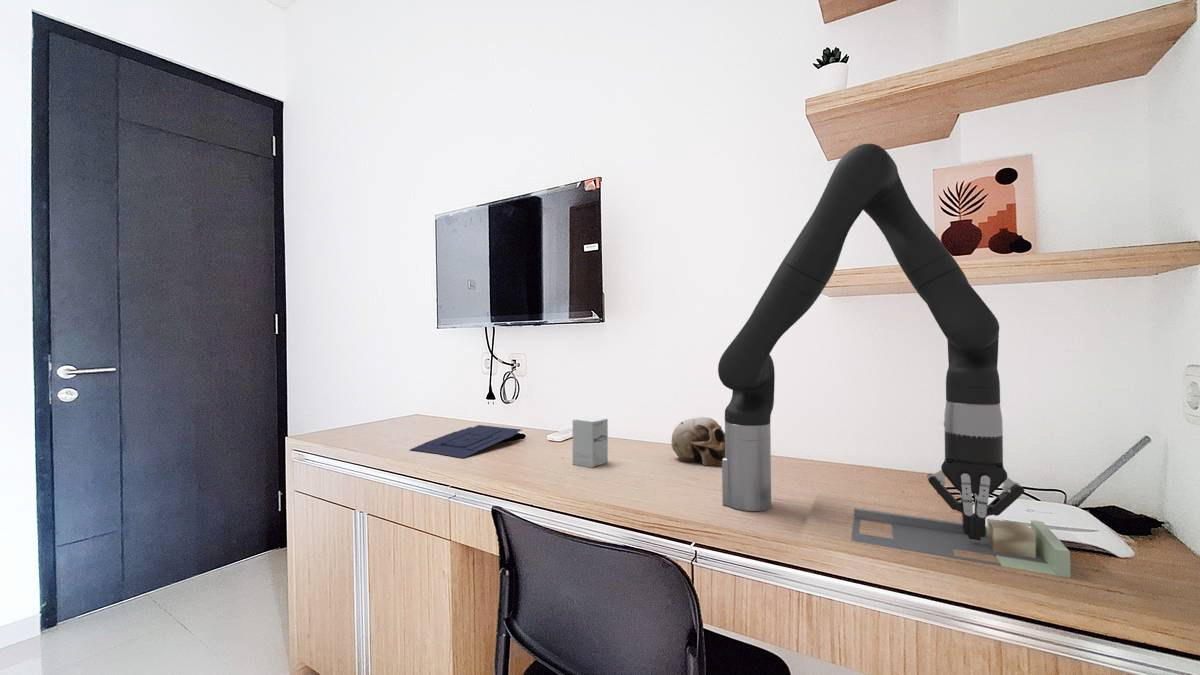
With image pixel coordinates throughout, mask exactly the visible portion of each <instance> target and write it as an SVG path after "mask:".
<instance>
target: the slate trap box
mask: <svg viewBox="0 0 1200 675" xmlns="http://www.w3.org/2000/svg"><path fill="white" fill-rule="evenodd" d="M853 511H854V512H853V514H854V515H853V525H852V531H851V537H850V538H851V540H850V541H851V542H856V543H863V544H869V545H874V546H881V547H886V548H893V549H897V550H898V549H899V550H904V551H910V552H915V553H922V554H927V555H934V556H940V557H944V558H945V557H946V558H949V559H957V560H962V561H964V560H965V561H969V562H975V563H981V564H986V565H992V566H998V567H1002V568H1003V567H1006V568H1010V569H1011V568H1012V569H1016V570H1022V571H1029V572H1033V573H1034V572H1035V573H1039V574H1045V575H1051V576H1056V577H1057V576H1058V577H1064V578H1071V551H1070V550H1069V549H1068V548H1067V547H1066V546H1065V544H1064V543H1063V542H1062V541H1061V540H1060V539H1059V538H1058V536H1056V535H1055V533H1054V532H1053V531H1052V530H1051V529H1050V528H1049V527H1048V526H1047V524H1045V522H1044V521H1039V520H1032V519H1031V520H1030V529H1031V530H1032V531H1033V532H1034V534H1035V542H1036V558H1032V557H1025V556H1019V555H1013V554H1006V553H1000V552H994V551H993V549H992V547H991V545H990V544H989V542H988V529H987V526H986V525H985V531H986V534H985V536H984V537H981V540H974V539H969V537H968V535H965V533H964V531H963V529H962V522H956V521H951V520H945V519H944V520H943V519H936V518H931V517H921V516H914V515H908V514H907V515H906V514H900V513H894V512H893V513H892V512H885V511H879V510H872V509H865V508H857V507H854V508H853ZM861 520H866V521H873V522H879V523H886V524H891V530H892V538H890V537H884V536H879V535H871V534H866V533H860V528H861V527H860V525H861ZM954 550H958V551H965V552H969V553H977V554H981V555H982V554H983V555H989V556H995V557H996V559H997V560H998V562H996V561H990V560H984V559H983V560H982V559H979V558H972V557H971V558H970V557H966V556H958V555H955V553H954Z"/></svg>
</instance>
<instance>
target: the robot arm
mask: <svg viewBox="0 0 1200 675" xmlns="http://www.w3.org/2000/svg"><path fill="white" fill-rule="evenodd" d="M863 211H864V212H865V213H866V215H867V216H869V217H870V219H871V220H872V221H873V222H874V223H875V225H877V227H878V228H879V230H880V231H881V233H882V235H884V236H883V237H885V239H886V241H887V243H888V246H889V247H890V249H891V252H892V253H893V255H894V258H895V260H896V261H897V263H898V264H899V266H900V268H901V270H902V272H903V274H904V275H905V276H906V278H907V279H908V281H909V282H910V284H911V285H912V287H913V288H914V290H915V291H916V294H918V295H919V297H920V298H921V299H922V301H924V303H926V306H927V307H928V309H929V311H930V313H931V314H932V317H933V319H934V320H935V321H936V324H938V328H940V329H941V330H940V331H942V333H943V335H944V336H945V338H946V340H947V357H948V358H947V361H948V368H947V371H946V376H945V408H944V417H943V419H944V421H943V427H944V461H943V463H942V464H941V466H940V467H941V469H940V470H938V471H937V472H934V473H929V474H927V476H926V478H927V480H928V483H929V484H930V486H932V488H933V489H934V490H935V491H936V492H937V494H939V495H940V497H941V498H942V499H943V500H944V502H946V504H947V505H948V506H949V508H950V509H951V510H954V511H956V512H960V513H961V516H962V517H961V520H962V521H961V523H962V529H963V531H964V533H965V535H968V537H969V539H974V540H981V537H984V536H985V534H986V531H985V526H986V520H987V519H986V518H987V517H989V516H997V517H998V516H999V515H1001V514H1002V513H1003V512H1004V511H1006V509H1008V508H1009V507H1010V506H1011V505H1012V504H1014V502H1015V501H1016V500H1018V499H1019V498H1020V497H1021V496H1022V495H1024V494H1025V488H1024V487H1023V486H1022V484H1020V483H1018V482H1015V481H1014V480H1012V479H1011V478H1009V477H1008V472H1007V471H1006V469H1005V467H1004V450H1003V449H1004V446H1003V443H1004V441H1003V438H1004V436H1003V426H1004V425H1003V415H1002V409H1001V408H1002V407H1001V384H1000V383H1001V382H1000V376H999V375H1000V374H999V371H998V360H999V340H1000V339H999V337H1000V324H999V320H998V318H997V317H996V315H995V314H994V313H993V312H992V310H991V309H990V307H989V306H988V305H987V304H986V302H985V301H984V300H983V298H981V296H980V295H979V294H978V292H976V290H975V289H974V288H973V287H972V286H971V285H970V283H969V281H968V279H967V277H966V274H965V273H964V271H963V270H962V268H961V267H960V266H959V264H958V262H957V261H956V260H955V259H954V256H952V253H950V251H949V249H948V248H947V247H946V246H945V245H944V243H943V242H942V241H941V240H940V238H939V237H938V236H937V235H936V234H935V233H934V231H933V230H932V229H931V227H929V225H928V224H927V223H926V222H925V220H924V219H923V218H922V216H921V215H920V214H919V212H918V210H917V209H916V208H915V206H914V204H913V203H912V201H911V198H910V197H909V196H908V192H907V190H906V189H905V187H904V184H903V182H902V179H901V177H900V175H899V172H898V166H897V164H896V162H895V160H894V159H893V158H892V156H891V155H890V154H889V153H888V151H887V150H885V148H883V147H881V146H880V145H878V144H876V143H875V144H874V143H863V144H860V145H857V146H854V147H853V148H851V149H849V150H848V151H847V152H846V153H845V154H844V155H843V156H842V157H841V158H840V160H838V162H837V164H836V165H835V168H834V169H833V172H832V174H831V175H830V178H829V180H828V182H827V184H826V186H825V188H824V191H823V192H822V195H821V197H820V198H819V201H818V203H817V204H816V207H815V209H814V210H813V211H812V214H811V216H810V217H809V219H808V220H807V222H806V224H805V225H804V227H803V228H802V230H801V231H800V233H799V235H798V236H797V238H796V239H795V241H793V243H792V246H791V247H790V248H789V250H788V252H787V254H786V255H785V257H784V258H783V259H782V261H781V262H780V264H779V266H778V268H777V270H776V271H775V273H774V274H773V276H772V278H771V279H770V282H769V283H768V285H767V286H766V289H765V290H764V291H763V294H762V295H761V297H760V299H759V300H758V302H757V304H755V307H754V309H753V310H752V312H751V314H750V316H749V317H748V319H747V321H746V322H745V324H744V325H743V327H742V328H741V329H740V331H739V332H737V334H736V336H735V337H734V338H733V340H732V341H731V342H730V344H729V345H728V346H727V348H726V349H725V350H724V352H723V353H722V355H721V356H720V359H719V361H718V366H717V372H718V377H719V381H720V382H721V384H722V385H723V386H724V387H726V388H727V389H729V390H732V396H731V399H730V402H729V403H728V405H727V406H726V408H725V409H724V433H725V458H723V460H722V466H721V470H722V471H721V472H722V474H721V475H722V476H721V477H722V478H721V479H722V487H721V489H722V505H723V506H728V507H731V508H733V509H736V510H740V511H746V512H747V511H748V512H760V511H766V510H769V509H770V508H772V456H771V455H772V454H771V453H772V451H771V449H772V448H771V447H772V446H771V441H772V440H771V436H772V434H771V417H772V416H771V415H772V412H773V409H774V404H775V380H776V378H775V377H776V376H775V364H774V361H773V358H772V356H771V352H772V351H773V349H774V347H775V346H776V345H777V343H778V341H779V340H780V339H781V337H783V335H785V333H786V332H787V331H788V330H790V329H791V327H793V325H795V324H796V323H797V322H798V321H799V320H800V319H801V318H802V317H803V316H804V315H805V314H806V313H807V312H808V311H809V310H810V309H811V307H813V305H814V304H815V302H816V301H817V300H818V298H819V296H820V295H821V293H822V292H823V290H824V289H825V288H826V286H827V284H828V283H829V281H830V279H831V278H832V276H833V274H834V271H835V270H836V267H837V264H838V262H839V259H840V256H841V254H842V250H843V247H844V244H845V241H846V240H847V236H848V234H849V232H850V230H851V228H852V227H853V225H854V224H855V221H857V219H858V218H859V216H860V215H861V213H862V212H863ZM945 477H946V478H947V479H948V481H949V482H950V484H952V486H953V487H954V488H955V489H956V490H957V491H958V492H959V496H960V501H958V500H956V498H955V497H954V496H953V494H951V492H950V491H949V490H948V488H946V484H947V481H946V479H945ZM1001 485H1002V486H1001ZM1000 486H1001V489H1002V492H1001V493H1000V494H999V495H998V496H996V497H995V498H994V499H993V500H992V501H991V502H989V495H992V494H993V493H994V492H995V491H996V490H997V489H998V488H999V487H1000ZM973 494H974V498H975V499H974V508H973V496H972V495H973Z"/></svg>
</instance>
